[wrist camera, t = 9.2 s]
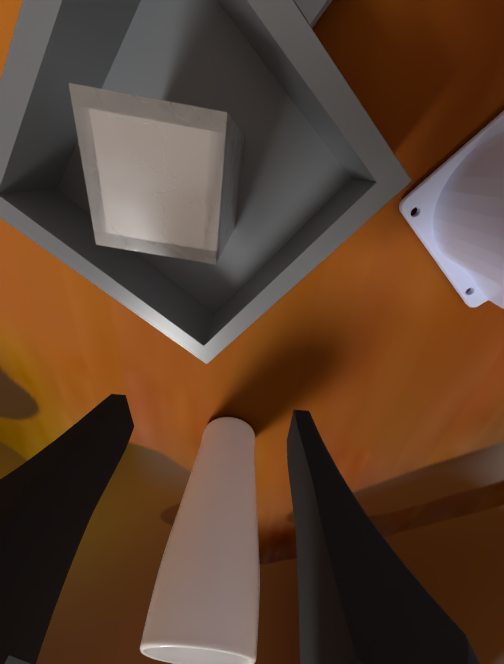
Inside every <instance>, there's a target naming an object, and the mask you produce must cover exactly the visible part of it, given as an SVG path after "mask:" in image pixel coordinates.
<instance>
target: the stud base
mask: <svg viewBox="0 0 504 664" xmlns="http://www.w3.org/2000/svg"><path fill="white" fill-rule="evenodd" d="M293 1H294V3H295V4H296V6H297V7H298V9H299V10H300V12H301V13H302V15H303V16H304V18H305V19H306V21H307V23H308V24H309V26H310V27H311V29H312V28H313V27H314V25H315V24H316V23H317V21H318V20H319V18H320V17H321V16H322V14H323V13H324V12H325V10H326V9H327V7H328V6H329V5H330V3H331V2H332V0H293Z"/></svg>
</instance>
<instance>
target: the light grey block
mask: <svg viewBox="0 0 504 664" xmlns="http://www.w3.org/2000/svg"><path fill="white" fill-rule="evenodd" d="M69 89H70V95H71V101H72V106H73V112H74V118H75V124H76V130H77V136H78V142H79V148H80V153H81V159H82V165H83V171H84V177H85V183H86V189H87V195H88V201H89V206H90V212H91V218H92V224H93V230H94V236H95V242H96V245H101V246H107V247H113V248H119V249H125V250H131V251H137V252H143V253H150V254H156V255H162V256H168V257H174V258H180V259H186V260H192V261H198V262H204V263H210V264H216V263H217V261H218V259H219V257H220V255H221V253H222V252H223V250H224V248H225V246H226V244H227V242H228V240H229V239H230V237H231V235H232V233H233V231H234V229H235V223H236V213H237V204H238V195H239V186H240V177H241V168H242V159H243V149H244V140H245V136H244V134H243V133H242V132H241V130H240V129H239V128H238V126H237V125H236V123H235V122H234V121H233V119H232V118H231V117H230V115H229V114H228V113H227V112H223V111H217V110H212V109H207V108H201V107H196V106H191V105H185V104H180V103H175V102H169V101H164V100H159V99H153V98H148V97H142V96H137V95H132V94H126V93H121V92H116V91H110V90H105V89H100V88H94V87H89V86H84V85H78V84H73V83H69Z"/></svg>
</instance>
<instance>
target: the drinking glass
mask: <svg viewBox="0 0 504 664" xmlns="http://www.w3.org/2000/svg"><path fill="white" fill-rule="evenodd" d="M258 614H259V544H258V522H257V499H256V475H255V433H254V431H253V429H252V427H251V426H250V425H249V424H248V423H246V422H245V421H243V420H241V419H238V418H234V417H221V418H217V419H215V420H213V421H211V422H210V423H209V424H208V425H207V426H206V428H205V430H204V433H203V437H202V441H201V445H200V448H199V451H198V454H197V457H196V460H195V463H194V466H193V469H192V472H191V475H190V478H189V481H188V484H187V487H186V490H185V493H184V496H183V499H182V502H181V505H180V508H179V510H178V513H177V516H176V519H175V522H174V525H173V528H172V531H171V534H170V537H169V540H168V543H167V546H166V549H165V552H164V556H163V559H162V562H161V565H160V569H159V573H158V576H157V580H156V583H155V587H154V591H153V595H152V599H151V603H150V607H149V611H148V615H147V619H146V624H145V628H144V633H143V637H142V641H141V645H140V651H141V652H142V654H144V655H145V656H148V657H150V658H153V659H157V660H160V661H164V662H169V663H175V664H254V663H255V661H256V651H257V650H256V649H257V634H258Z"/></svg>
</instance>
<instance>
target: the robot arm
mask: <svg viewBox="0 0 504 664" xmlns="http://www.w3.org/2000/svg"><path fill="white" fill-rule="evenodd" d="M415 207H417V212H416V214H415V215H413V216H411V214H410V213H411V211H412V209H413V208H415ZM399 210H400V212H401V214H402V215H403V216H404V218H405V219H406V221H407V222H408V223H409V225H410V226H411V228H412V229H413V230H414V232H415V233H416V235H417V236H418V237H419V239H420V240H421V242H422V243H423V244H424V246H425V247H426V249H427V250H428V251H429V253H430V254H431V256H432V257H433V258H434V260H435V261H436V263H437V264H438V266H439V267H440V268H441V270H442V271H443V273H444V274H445V275H446V277H447V278H448V280H449V281H450V282H451V284H452V285H453V287H454V288H455V289H456V291H457V292H458V294H459V295H460V296H461V298H462V299H463V301H464V302H465V303H466V304H467V305H468V306H470V307H477V306H479V305H481V304H482V303H484V302H486V301H487V300H490V301H491V302H493V303H495V304H496V305H498V306H500V307H501V308H503V309H504V111H503V112H501V113H500V114H499V115H498V116H497V117H496V118H495V119H493V120H492V121H491V122H490V123H489V124H488V125H487V126H485V127H484V128H483V129H482V130H481V131H480V132H479V133H477V134H476V135H475V136H474V137H473V138H472V139H471V140H469V141H468V142H467V143H466V144H465V145H464V146H463V147H461V148H460V149H459V150H458V151H457V152H456V153H455V154H453V155H452V156H451V157H450V158H449V159H448V160H447V161H445V162H444V163H443V164H442V165H441V166H440V167H439V168H437V169H436V170H435V171H434V172H433V173H432V174H431V175H429V176H428V177H427V178H426V179H425V180H424V181H423V182H421V183H420V184H419V185H418V186H417V187H416V188H415V189H413V190H412V191H411V192H410V193H409V194H408V195H407V196H405V197H404V198H403V199H402V200H401V202H400V204H399ZM469 288H470V290H469V291H468V292H466V290H467V289H469ZM465 292H466V293H465ZM133 428H134V424H133V421H132V417H131V413H130V410H129V406H128V402H127V399H126V395H117V394H111V395H110V396H109V397H107V398H106V399H105V400H104V401H102V402H101V403H100V404H99V405H98V406H96V407H95V408H94V409H93V410H92V411H90V412H89V413H88V414H87V415H86V416H84V417H83V418H82V419H81V420H80V421H78V422H77V423H76V424H75V425H74V426H72V427H71V428H70V429H69V430H67V431H66V432H65V433H64V434H62V435H61V436H60V437H59V438H57V439H56V440H55V441H54V442H52V443H51V444H50V445H48V446H47V447H46V448H44V449H43V450H42V451H40V452H39V453H38V454H36V455H35V456H34V457H32V458H31V459H30V460H28V461H27V462H25V463H24V464H23V465H21V466H20V467H19V468H17V469H15V470H14V471H12V472H11V473H9V474H8V475H7V476H5V477H4V478H2V479H0V664H36V661H37V658H38V655H39V652H40V649H41V646H42V643H43V640H44V637H45V635H46V631H47V629H48V626H49V623H50V620H51V617H52V614H53V611H54V609H55V606H56V603H57V601H58V598H59V595H60V592H61V590H62V587H63V584H64V582H65V579H66V576H67V574H68V571H69V569H70V566H71V564H72V561H73V559H74V556H75V553H76V551H77V549H78V546H79V544H80V541H81V539H82V536H83V534H84V532H85V529H86V527H87V524H88V522H89V520H90V517H91V515H92V513H93V511H94V509H95V507H96V505H97V503H98V501H99V499H100V497H101V496H102V494H103V492H104V490H105V488H106V486H107V484H108V482H109V480H110V478H111V476H112V474H113V473H114V471H115V469H116V467H117V465H118V463H119V461H120V459H121V457H122V455H123V453H124V451H125V449H126V447H127V444H128V442H129V439H130V436H131V434H132V431H133ZM287 458H288V471H289V479H290V487H291V495H292V503H293V511H294V519H295V529H296V542H297V564H298V591H299V626H300V664H480V662H479V660H478V658H477V656H476V654H475V653H474V650H473V648H472V646H471V644H470V643H469V641H468V639H467V637H466V635H465V633H464V632H463V631H462V630H461V629H460V628H459V627H458V626H457V624H456V623H455V622H454V621H453V620H452V619H451V618H450V617H449V616H448V614H447V613H446V612H445V611H444V610H443V609H442V608H441V607H440V605H439V604H438V603H437V602H436V601H435V600H434V599H433V598H432V597H431V595H430V594H429V593H428V592H427V591H426V590H425V588H424V587H423V586H422V585H421V583H420V582H419V581H418V580H417V579H416V577H415V576H414V575H413V574H412V573H411V572H410V570H409V569H408V568H407V567H406V566H405V564H404V563H403V562H402V561H401V559H400V558H399V557H398V555H397V554H396V553H395V551H394V550H393V549H392V548H391V546H390V545H389V544H388V543H387V541H386V540H385V539H384V537H383V536H382V535H381V534H380V532H379V531H378V529H377V528H376V527H375V525H374V524H373V523H372V521H371V520H370V518H369V517H368V516H367V514H366V513H365V511H364V510H363V508H362V507H361V505H360V504H359V503H358V501H357V499H356V498H355V496H354V495H353V493H352V492H351V490H350V489H349V487H348V485H347V484H346V482H345V480H344V479H343V477H342V475H341V474H340V472H339V470H338V469H337V467H336V465H335V463H334V461H333V460H332V458H331V456H330V454H329V452H328V450H327V448H326V446H325V445H324V443H323V441H322V438H321V436H320V434H319V432H318V430H317V428H316V426H315V423H314V421H313V419H312V416H311V414H310V412H309V411H303V410H294V411H293V416H292V420H291V425H290V429H289V433H288V438H287Z"/></svg>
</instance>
